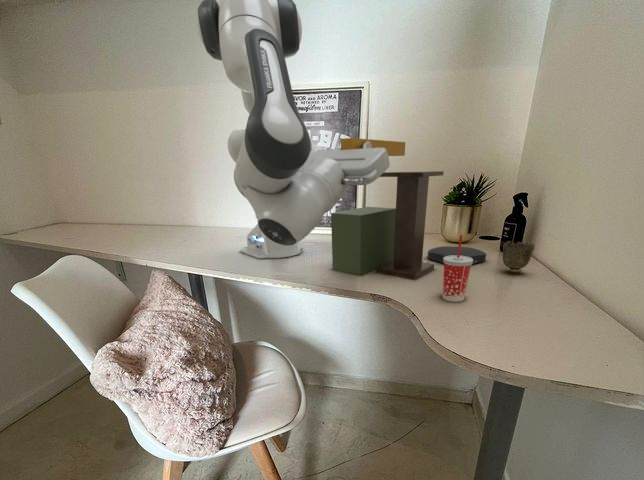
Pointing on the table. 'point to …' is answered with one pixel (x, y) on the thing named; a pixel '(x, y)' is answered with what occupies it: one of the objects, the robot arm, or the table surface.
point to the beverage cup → (456, 275)
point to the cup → (516, 256)
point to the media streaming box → (445, 251)
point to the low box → (362, 239)
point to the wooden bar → (375, 145)
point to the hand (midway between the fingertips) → (359, 145)
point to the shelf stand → (409, 224)
